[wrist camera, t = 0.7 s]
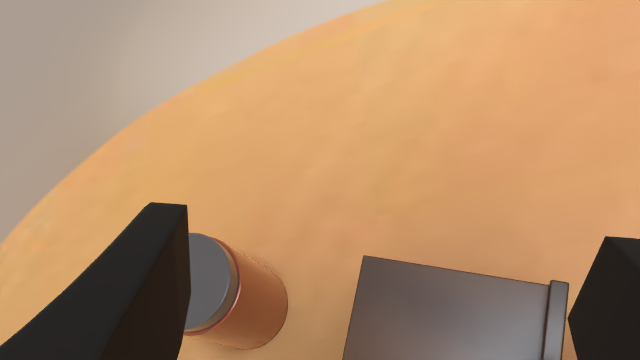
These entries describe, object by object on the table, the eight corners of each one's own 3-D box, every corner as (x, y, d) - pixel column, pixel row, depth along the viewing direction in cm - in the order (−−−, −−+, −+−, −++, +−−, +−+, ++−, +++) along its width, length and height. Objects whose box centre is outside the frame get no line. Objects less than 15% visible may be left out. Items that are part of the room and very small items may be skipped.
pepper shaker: (276, 357, 28) (216, 342, 22) (201, 339, 29) (125, 321, 24) (296, 273, 29) (243, 238, 23) (223, 260, 31) (156, 223, 25)
